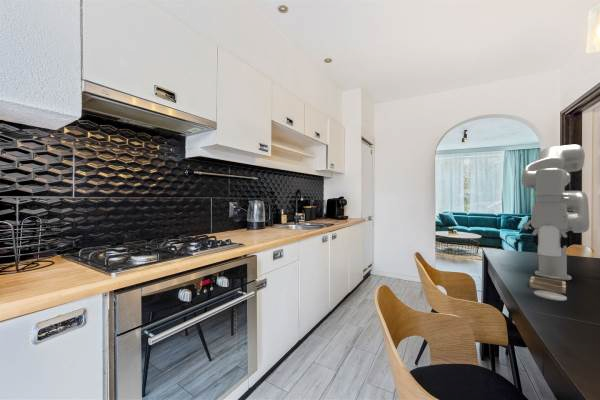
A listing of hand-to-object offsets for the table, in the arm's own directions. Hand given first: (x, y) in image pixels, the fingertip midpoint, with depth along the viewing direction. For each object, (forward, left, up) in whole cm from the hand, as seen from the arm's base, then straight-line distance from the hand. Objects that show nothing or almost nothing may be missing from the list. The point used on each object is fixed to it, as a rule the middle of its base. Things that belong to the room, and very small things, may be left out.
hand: (549, 246), depth 97 cm
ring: (-13, -1, -19) cm, 23 cm away
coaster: (0, 0, -19) cm, 19 cm away
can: (0, 0, -4) cm, 4 cm away
